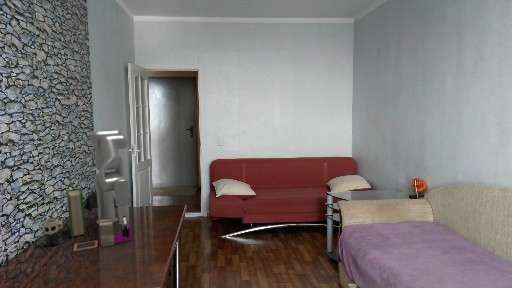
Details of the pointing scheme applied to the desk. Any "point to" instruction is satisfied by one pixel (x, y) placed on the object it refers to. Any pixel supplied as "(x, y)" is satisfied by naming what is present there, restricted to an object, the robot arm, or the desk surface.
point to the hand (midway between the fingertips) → (125, 234)
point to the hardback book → (76, 212)
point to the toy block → (121, 236)
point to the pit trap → (85, 245)
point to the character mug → (51, 231)
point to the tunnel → (106, 232)
